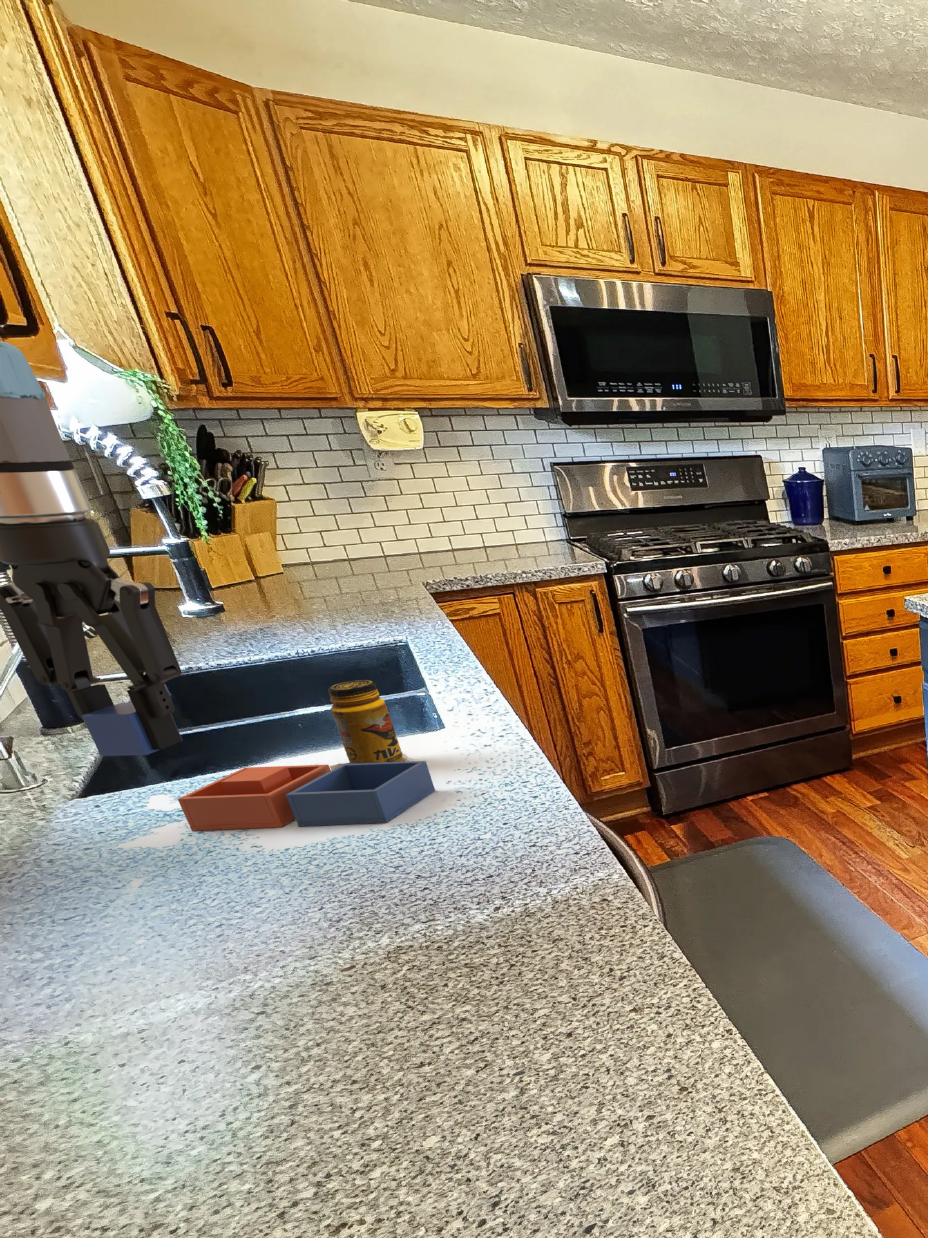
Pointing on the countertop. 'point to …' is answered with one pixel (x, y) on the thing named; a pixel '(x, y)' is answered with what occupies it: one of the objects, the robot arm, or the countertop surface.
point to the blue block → (118, 731)
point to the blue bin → (361, 793)
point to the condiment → (364, 723)
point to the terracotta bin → (245, 803)
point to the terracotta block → (257, 781)
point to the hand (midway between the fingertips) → (141, 745)
